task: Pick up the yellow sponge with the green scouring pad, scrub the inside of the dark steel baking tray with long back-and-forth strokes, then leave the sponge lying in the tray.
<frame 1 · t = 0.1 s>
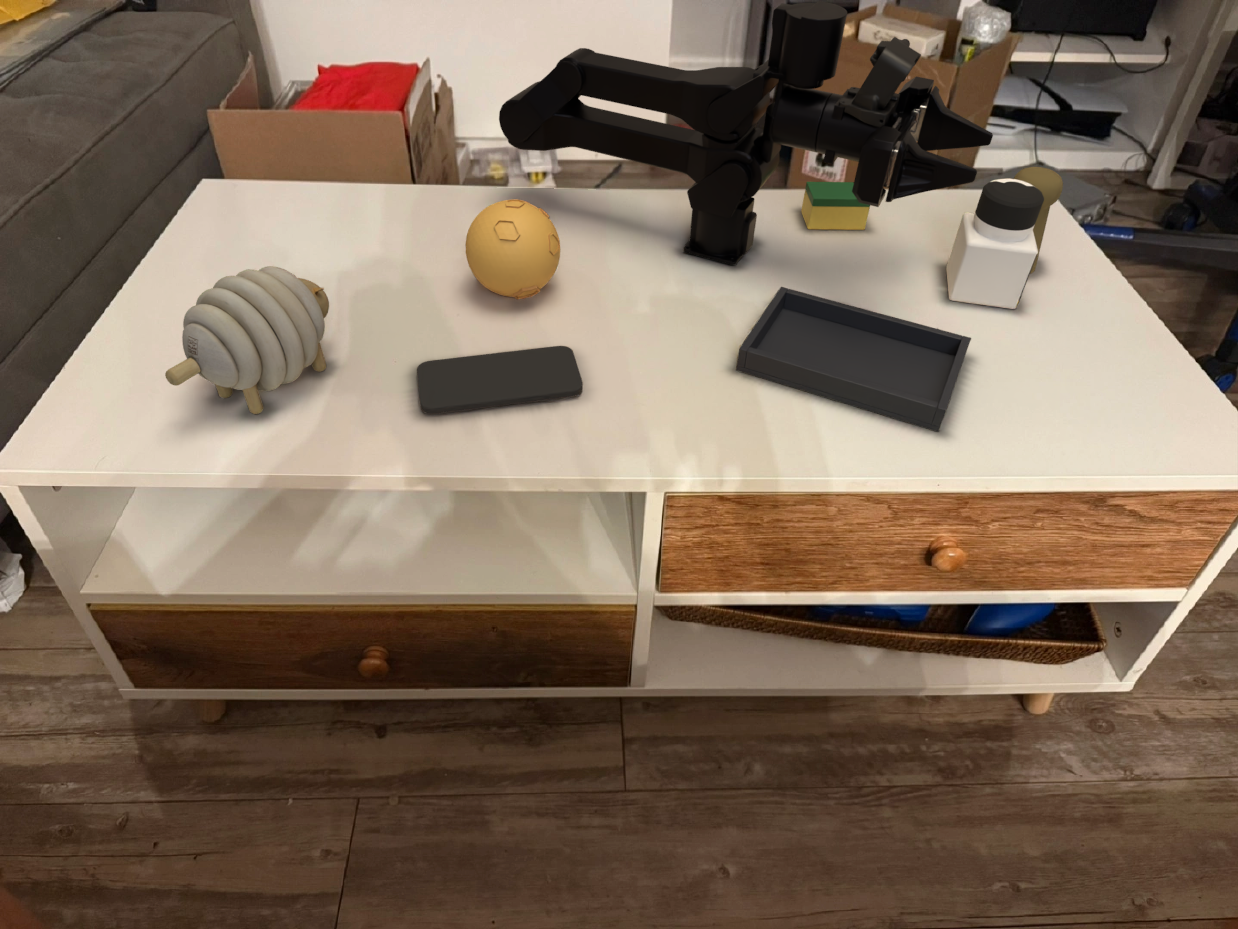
hand: (983, 157, 85), 17 cm above the table, tool horizontal, fingers open, 9 cm apart
sponge: (832, 220, 109), on the table
tray: (851, 364, 88), on the table
medicine bottle: (979, 290, 99), on the table
stress ball: (516, 291, 96), on the table
toy sheep: (268, 385, 83), on the table
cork: (1008, 263, 103), on the table
phone: (499, 383, 84), on the table
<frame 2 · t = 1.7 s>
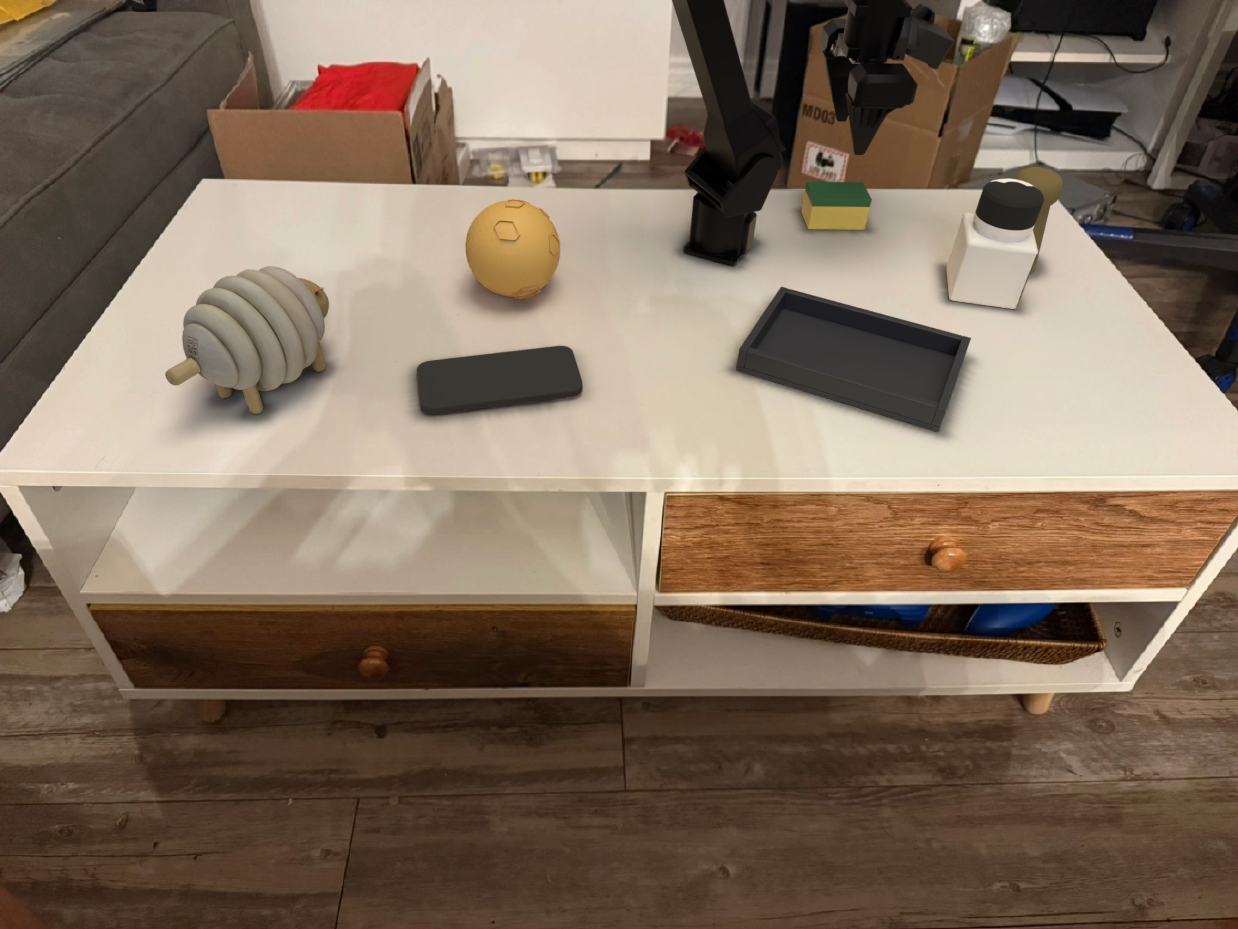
hand: (849, 137, 102), 11 cm above the table, tool pointing down, fingers open, 9 cm apart
nothing on the table moved.
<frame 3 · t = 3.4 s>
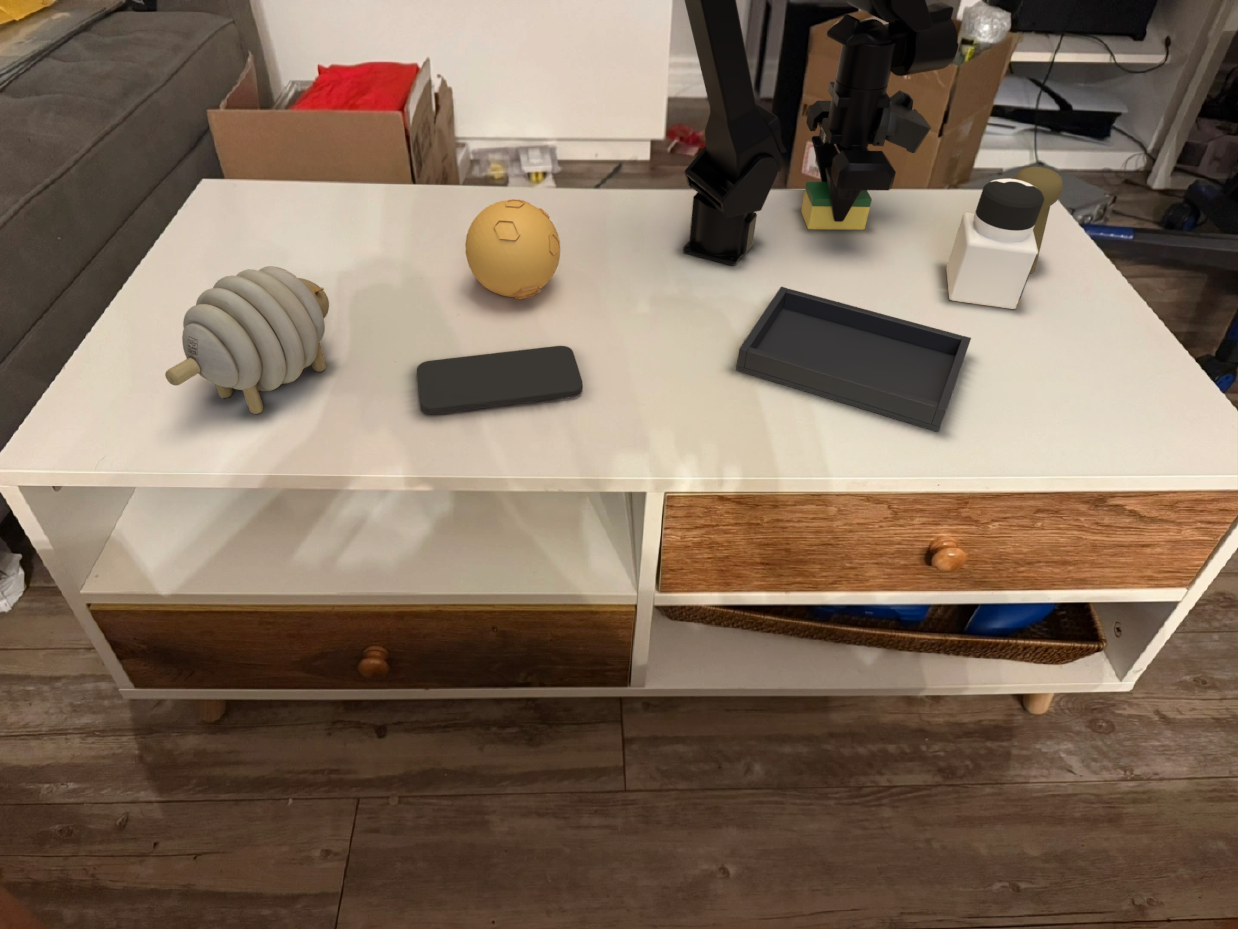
hand: (834, 211, 108), 1 cm above the table, tool pointing down, fingers closed on sponge, 4 cm apart
sponge: (832, 220, 109), on the table, touching gripper
everything else where it was.
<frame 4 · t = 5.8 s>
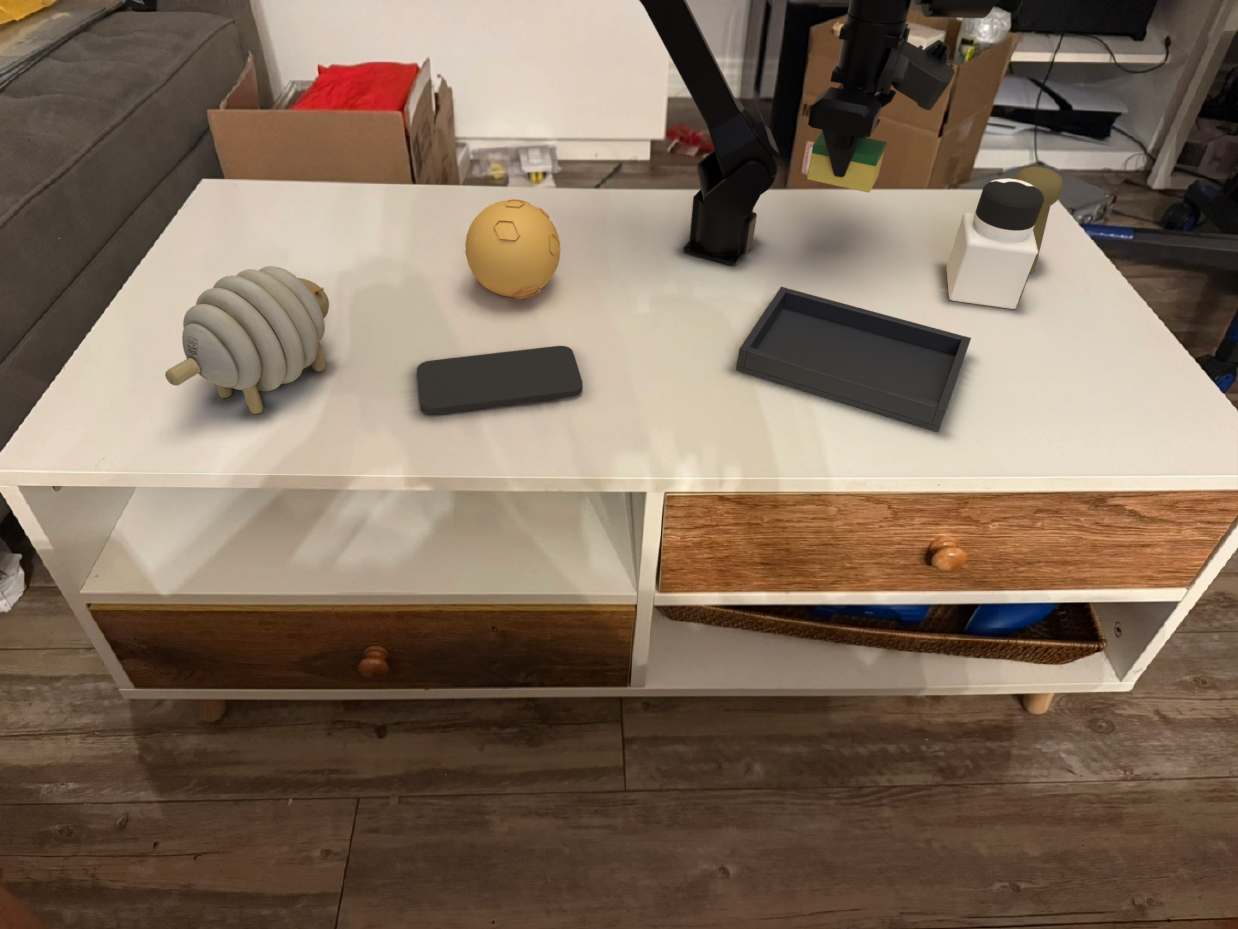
hand: (844, 167, 97), 10 cm above the table, tool pointing down, fingers closed on sponge, 4 cm apart
sponge: (842, 177, 98), point 9 cm above the table, touching gripper
everything else where it was.
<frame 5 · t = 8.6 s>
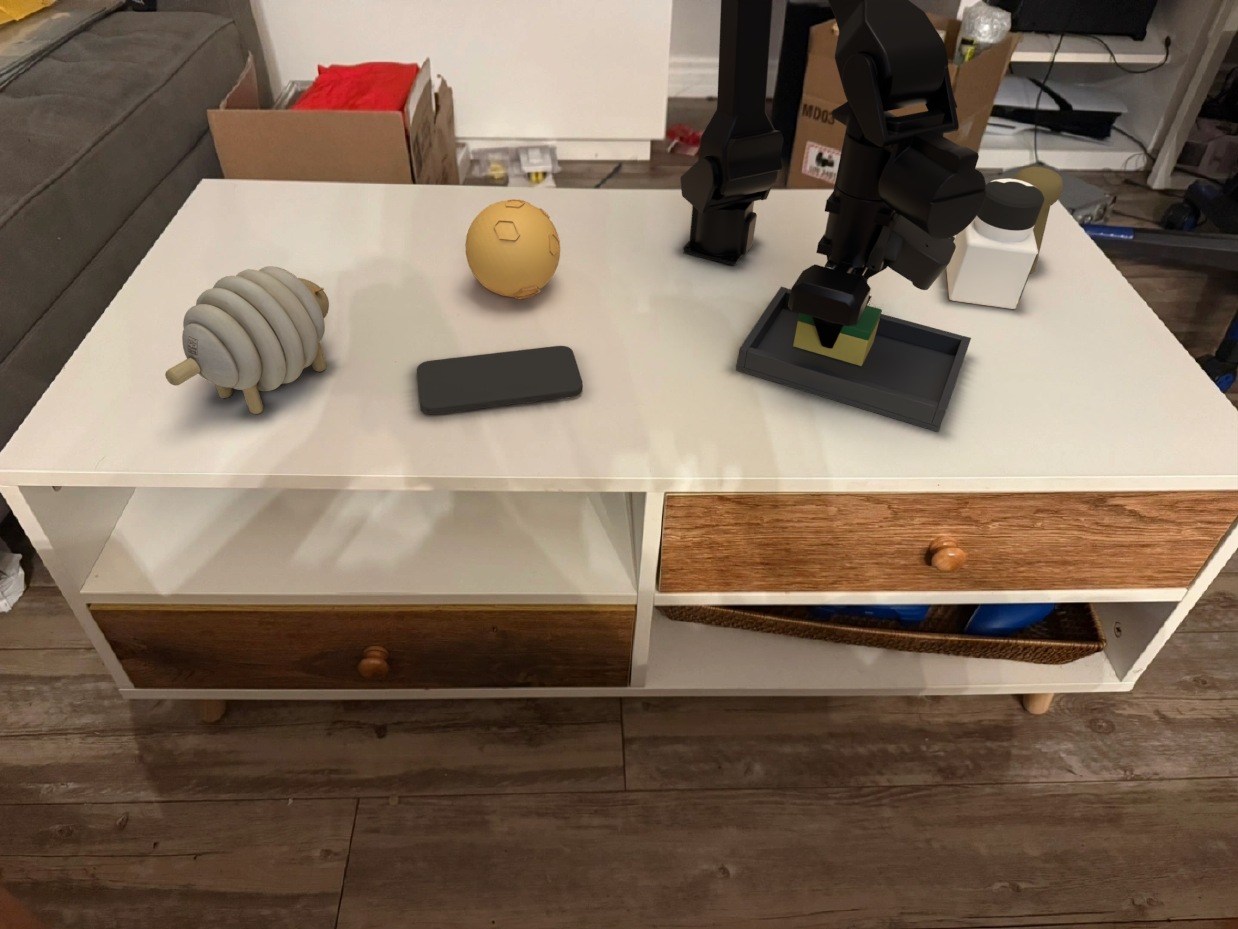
hand: (834, 334, 88), 2 cm above the table, tool pointing down, fingers closed on sponge, 4 cm apart
sponge: (833, 344, 89), point 1 cm above the table, touching gripper
everything else where it was.
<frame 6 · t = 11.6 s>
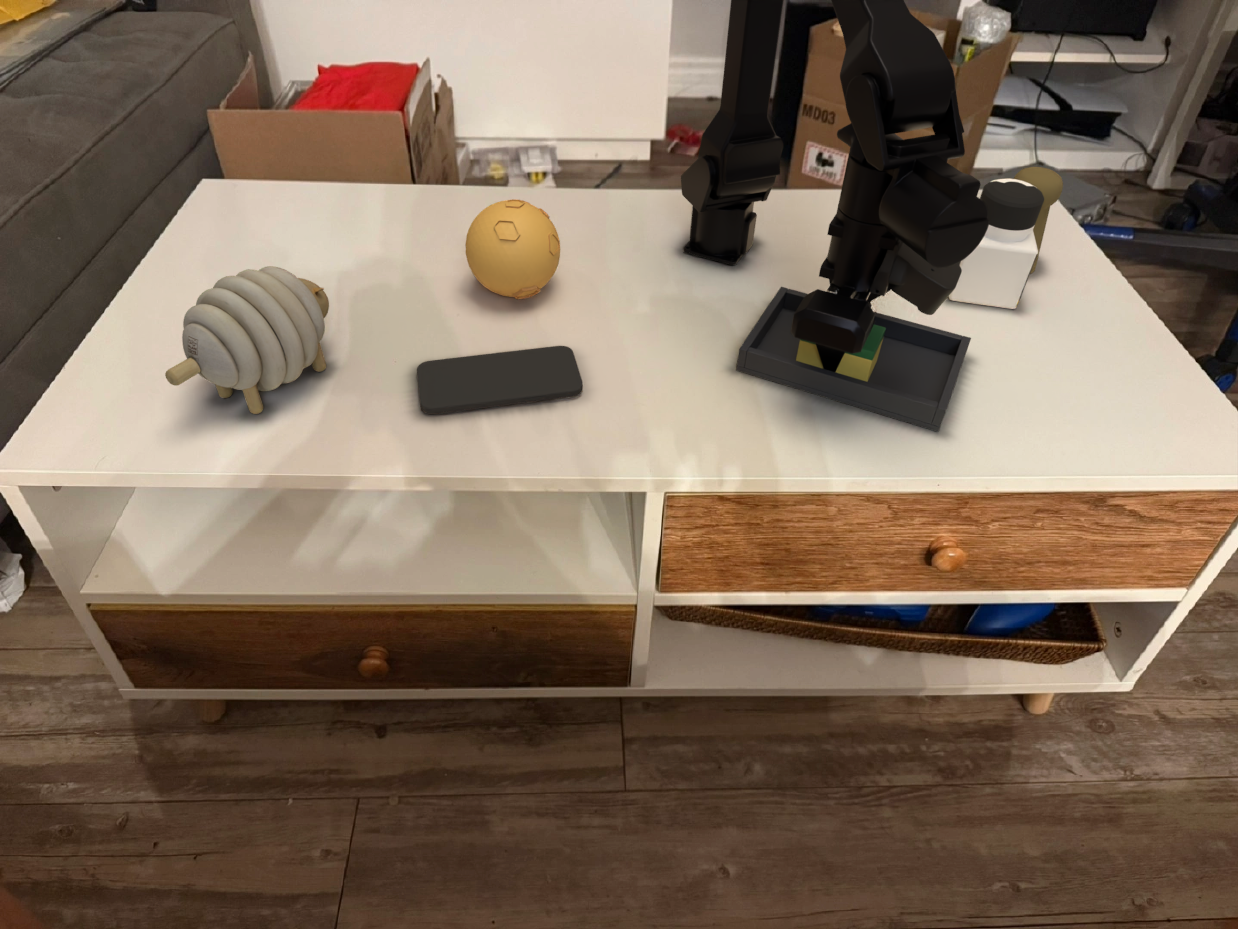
hand: (836, 357, 86), 1 cm above the table, tool pointing down, fingers closed on sponge, 4 cm apart
sponge: (835, 363, 87), point 1 cm above the table, touching gripper, tray
everything else where it was.
when the fingers open (1 cm above the table, at t = 13.8 s): sponge stays where it is, resting on tray.
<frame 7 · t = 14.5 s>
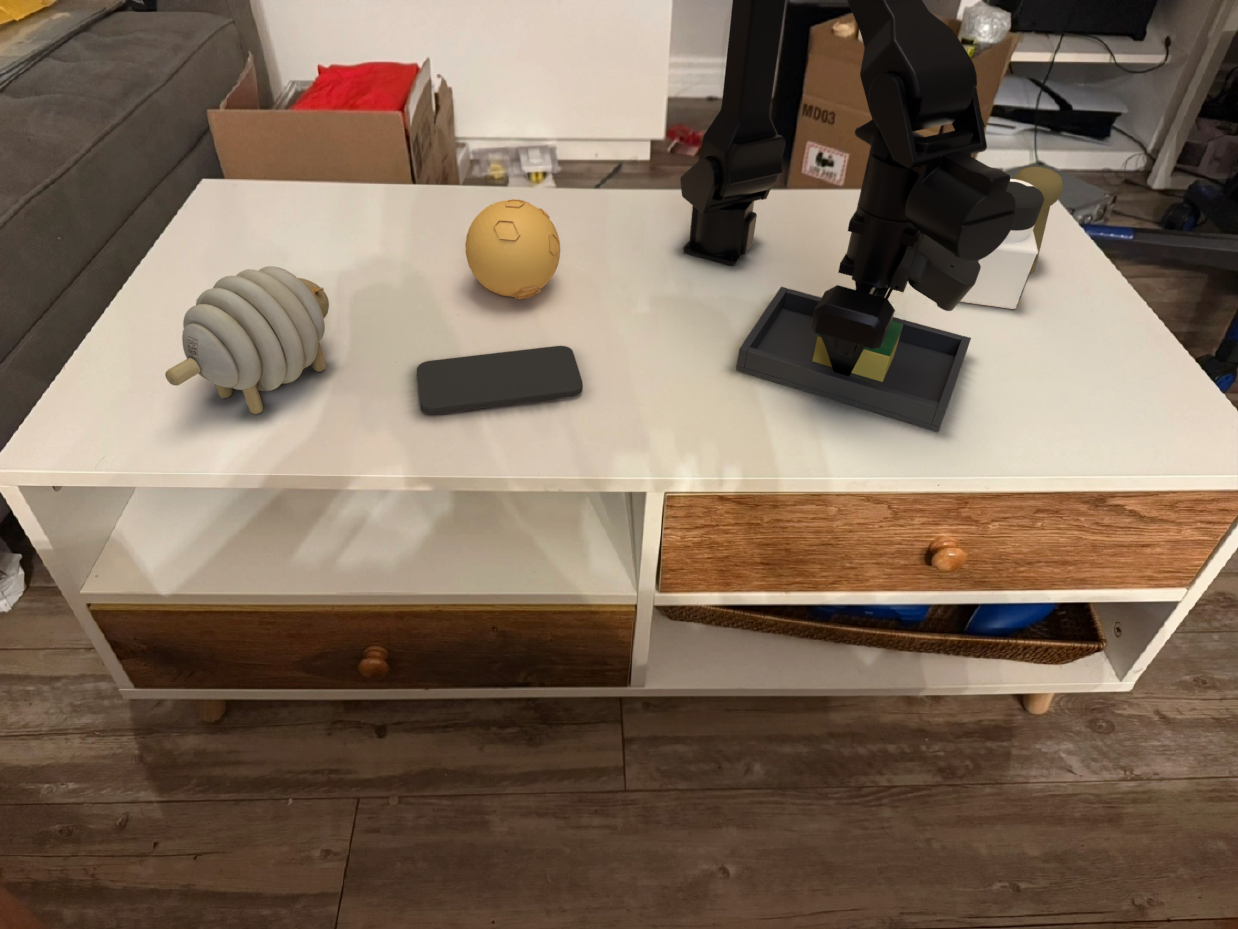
hand: (854, 353, 87), 1 cm above the table, tool pointing down, fingers open, 9 cm apart
sponge: (852, 359, 87), point 1 cm above the table, touching tray
everything else where it was.
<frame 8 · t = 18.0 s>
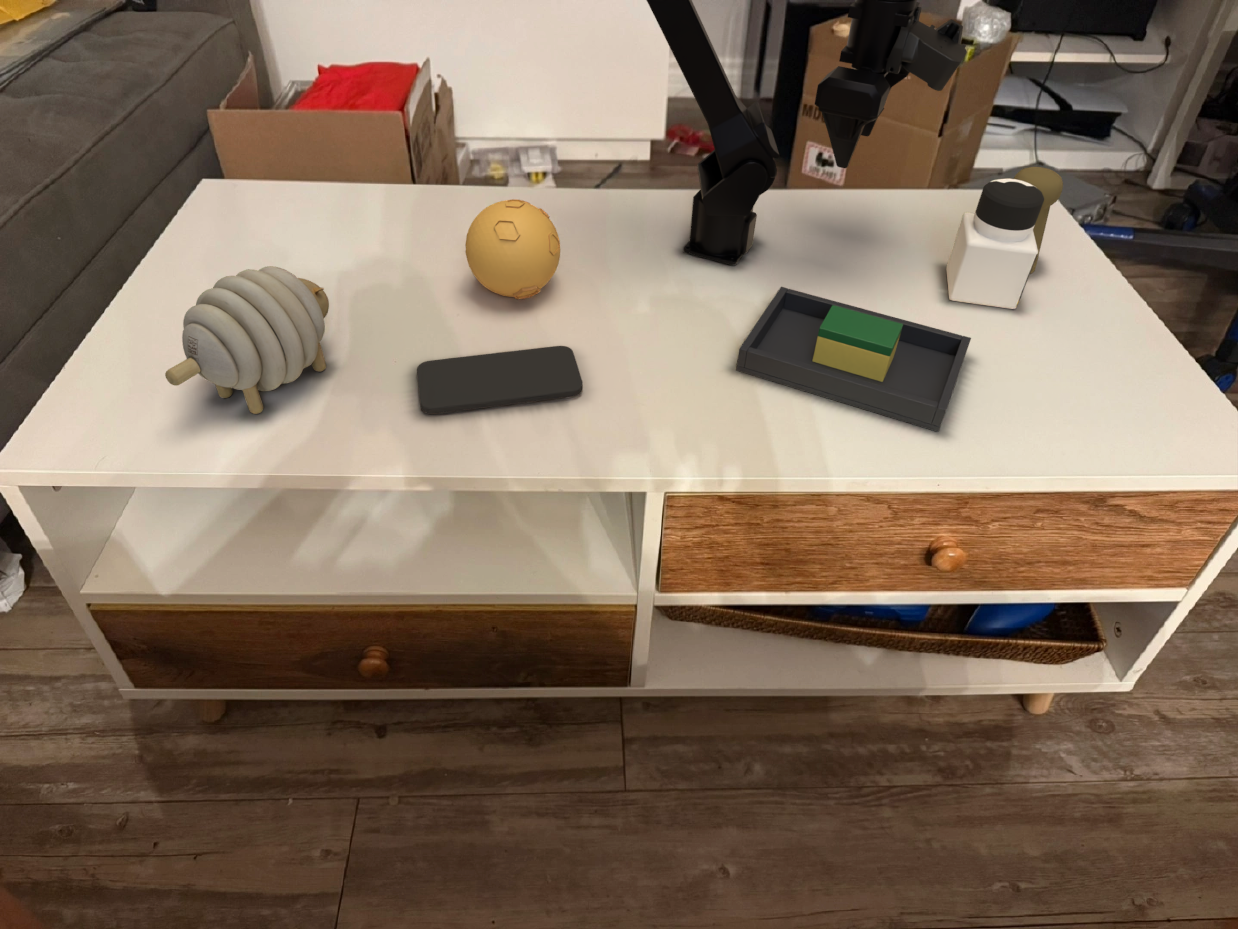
hand: (853, 150, 96), 12 cm above the table, tool pointing down, fingers open, 9 cm apart
nothing on the table moved.
at the end: sponge inside the target area in the tray (0.0 cm from its centre), point 0.6 cm above the tray's base; the gripper is holding nothing; sponge moved 29.7 cm from its start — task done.
